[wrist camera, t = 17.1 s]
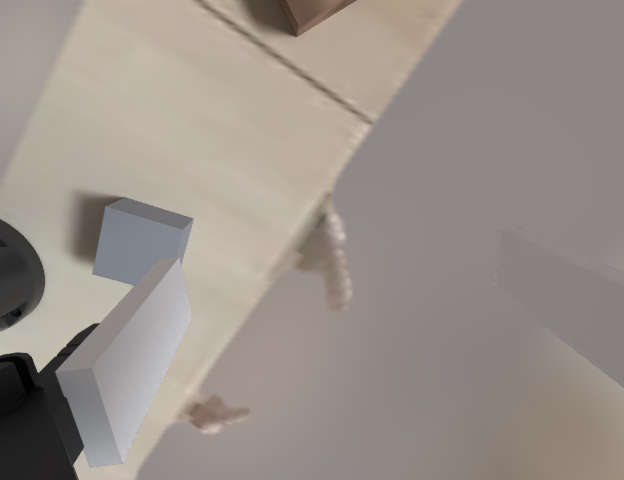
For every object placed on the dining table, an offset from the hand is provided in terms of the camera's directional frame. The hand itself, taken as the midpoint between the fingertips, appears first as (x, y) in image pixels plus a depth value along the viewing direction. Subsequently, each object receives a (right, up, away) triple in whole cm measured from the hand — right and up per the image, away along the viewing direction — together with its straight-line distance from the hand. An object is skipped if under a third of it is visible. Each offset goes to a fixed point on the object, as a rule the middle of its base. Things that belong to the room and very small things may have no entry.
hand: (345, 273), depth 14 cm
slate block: (-21, +2, +28) cm, 35 cm away
